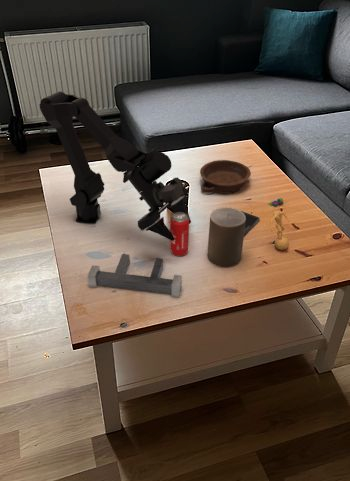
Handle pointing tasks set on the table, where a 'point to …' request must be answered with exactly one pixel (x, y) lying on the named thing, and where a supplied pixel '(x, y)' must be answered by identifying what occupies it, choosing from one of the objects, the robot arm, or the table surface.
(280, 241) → the figurine
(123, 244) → the table surface
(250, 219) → the phone
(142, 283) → the rail dock
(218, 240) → the pillar candle
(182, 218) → the beverage can
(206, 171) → the dish
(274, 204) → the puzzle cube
